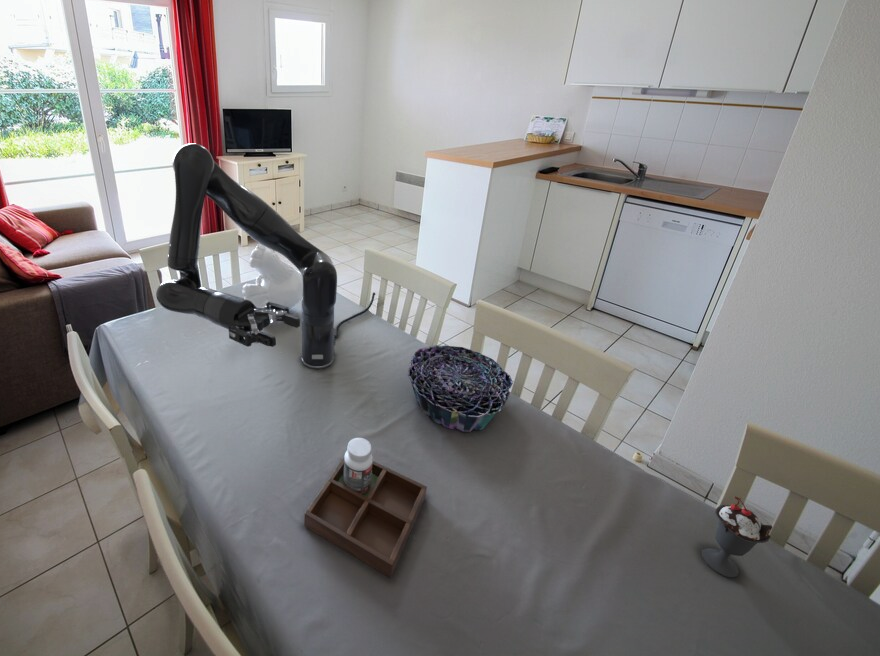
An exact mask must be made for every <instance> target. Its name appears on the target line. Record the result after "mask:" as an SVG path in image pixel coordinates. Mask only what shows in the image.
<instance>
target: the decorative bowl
mask: <svg viewBox="0 0 880 656" xmlns="http://www.w3.org/2000/svg"><path fill="white" fill-rule="evenodd" d="M407 377H408V378H409V380H410V383H411V386H412V390H413V393H414V396H415V399H416V400H417V402H418V405H419V406H420V408H421V410H422V412H423V413H424V415H426V416H428V417H430V418H431V419H432V421H433V422H435V423H436V424H438V425H442V426H444V428H447V429H450V430H454V429H456V430H458V431H460V432H462V433H471V432H472V431H473V430H476V431H481V430H484V429H485V427H486V426H487V425H488V424H489V423H490V421H491V420H492V419H493V418H494V417H495V415H496V414H497V413H500V412H501V411H502V408H503V407H504V406H506V403H507V401H508V399H509V397H510V394H511V392H510V389H511V388H512V386H513V385H514V381H513V379H512V376H511V375H510V374H508V373H507V372H506V370H504V369H503V367H502V366H501V365H500V364H499V363H498V362H497V361H495V360H494V359H493V358H491V357H489V356H487V355H484V354H482V353H481V352H478V351H476V350H472V349H469V348H466V347H463V346H454V345H453V346H452V345H446V344H445V345H438V344H435V345H429V346H426V347H422V348H421V347H420V348H419V349H417V350H416V351H415V352H414V354H413V356H412V357H411V360H410V361H409V367H408V368H407Z"/></svg>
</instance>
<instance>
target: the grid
mask: <svg viewBox="0 0 880 656" xmlns="http://www.w3.org/2000/svg"><path fill="white" fill-rule="evenodd" d="M344 457H345V455H344ZM344 457H342V459H341V461H340V462H339V464H337V466H336V468H335V469H334V471H333V472H332V473H331V475H330V476H329V478H328V480H327V481H326V482H325V484H324V485H323V486H322V488H321V489H320V491H319V492H318V493H317V495H316V496H315V498H314V499H313V501H312V502H311V503H310V505H309V507H308V508H307V509H306V511H305V512H304V527H305V528H306V529H308V530H310V531H312V532H313V533H315V534H317V535H318V536H320V537H322V538H323V539H325V540H327V541H328V542H330V543H332V544H333V545H335V546H336V547H338V548H339V549H341V550H343V551H345V552H346V553H348V554H350V555H351V556H353V557H354V558H356V559H358V560H359V561H361V562H363V564H366V565H368V566H369V567H371V568H373V569H374V570H376V571H377V572H379V573H381V574H383V575H384V576H385V577H388V578H389V579H392V577H393V574H394V572H395V570H396V567H397V565H398V563H399V560H400V558H401V556H402V553H403V551H404V549H405V546H406V544H407V542H408V539H409V537H410V535H411V533H412V530H413V529H414V526H415V523H416V521H417V519H418V516H419V514H420V512H421V509H422V507H423V505H424V503H425V500H426V496H427V490H428V489H427V488H428V486H426V485H424V484H422V483H420V482H418V481H416V480H414V479H412V478H410V477H407V476H406V475H404V474H402V473H400V472H397V471H395V470H393V469H391V468H389V467H387V466H385V465H383V464H380V463H378V462H376V461H375V460H373V466H372V479H371V486H370V488H369V490H368V491H367V492H366V493H364V494H360V493H358V492H356V491H354V490H352V489H350V488H348V487H347V486H345V485H344V483H343V476H344Z"/></svg>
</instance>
